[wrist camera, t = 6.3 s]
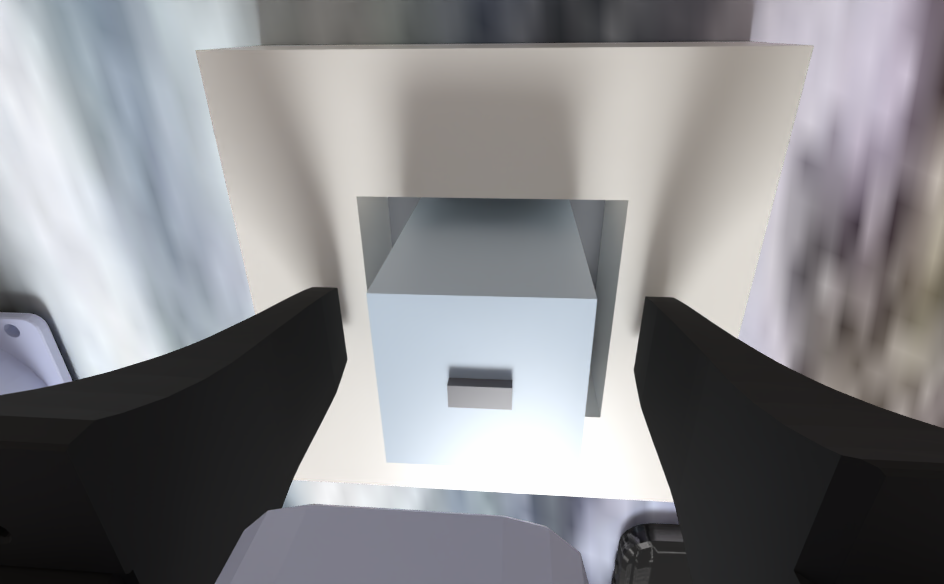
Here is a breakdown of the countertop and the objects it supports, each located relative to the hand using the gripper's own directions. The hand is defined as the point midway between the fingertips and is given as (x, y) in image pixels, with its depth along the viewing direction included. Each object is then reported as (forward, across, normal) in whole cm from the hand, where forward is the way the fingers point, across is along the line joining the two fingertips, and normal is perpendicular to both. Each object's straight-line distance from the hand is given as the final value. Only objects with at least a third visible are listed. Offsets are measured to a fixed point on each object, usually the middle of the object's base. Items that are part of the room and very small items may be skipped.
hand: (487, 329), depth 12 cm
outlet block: (+4, 0, 0) cm, 4 cm away
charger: (+3, 0, 0) cm, 3 cm away
